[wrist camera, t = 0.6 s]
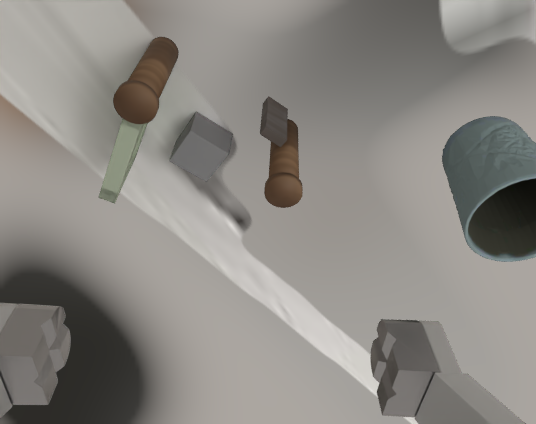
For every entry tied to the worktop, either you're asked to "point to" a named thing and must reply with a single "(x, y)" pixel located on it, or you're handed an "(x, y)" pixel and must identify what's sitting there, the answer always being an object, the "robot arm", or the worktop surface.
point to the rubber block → (201, 147)
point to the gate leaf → (121, 159)
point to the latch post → (281, 155)
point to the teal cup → (494, 187)
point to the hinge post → (146, 82)
